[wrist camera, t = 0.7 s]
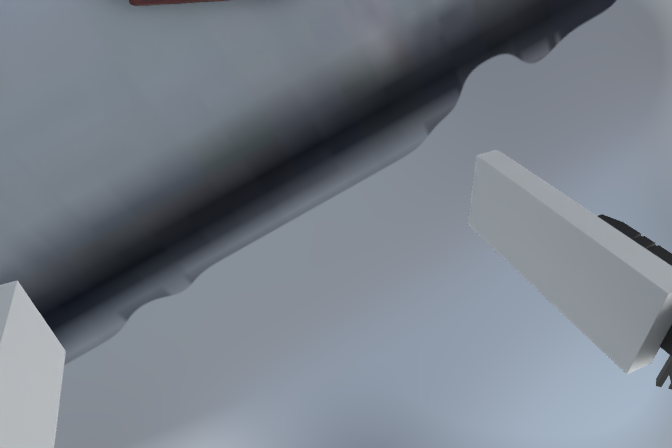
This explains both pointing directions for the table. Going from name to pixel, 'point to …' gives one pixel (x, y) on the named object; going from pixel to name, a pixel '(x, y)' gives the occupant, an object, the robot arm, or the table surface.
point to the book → (165, 2)
